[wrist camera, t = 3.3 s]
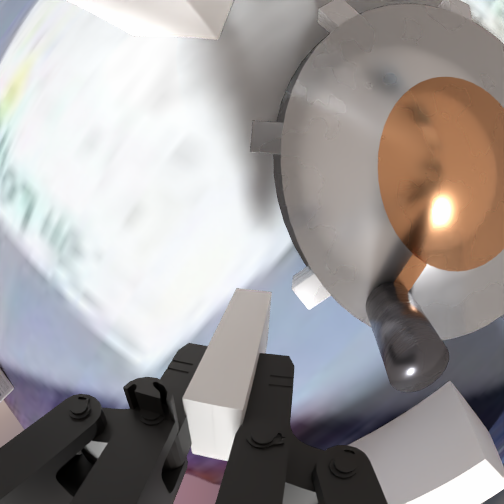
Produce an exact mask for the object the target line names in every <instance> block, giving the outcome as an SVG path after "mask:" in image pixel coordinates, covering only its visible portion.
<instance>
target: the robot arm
mask: <svg viewBox="0 0 504 504" xmlns="http://www.w3.org/2000/svg"><path fill="white" fill-rule="evenodd" d="M271 293H272V292H266V291H257V290H248V289H239V288H236V290H235V293H234V295H233V297H232V299H231V301H230V303H229V305H228V307H227V309H226V311H225V313H224V315H223V317H222V319H221V321H220V323H219V325H218V327H217V329H216V331H215V333H214V335H213V337H212V339H211V341H210V343H209V345H208V346H203V345H197V344H192V343H188V344H187V345H185V346H184V347H182V348H181V349H179V350H178V352H177V353H176V355H175V356H174V358H173V360H172V362H171V363H170V364H169V366H168V369H166V371H165V372H164V374H163V376H162V377H161V379H158V378H152V377H143V378H137V379H135V380H133V381H130V382H129V383H128V384H127V385H125V386H124V387H123V388H124V392H125V395H126V398H127V401H128V404H129V407H130V409H111V408H102V407H101V405H100V403H99V401H98V400H97V399H96V398H94V397H92V396H90V395H85V394H78V395H73V396H71V397H69V398H67V399H66V400H64V401H63V402H62V403H60V404H59V405H58V406H56V407H55V408H54V409H52V410H51V411H50V412H48V413H47V414H45V415H44V416H43V417H41V418H40V419H39V420H37V421H36V422H35V423H33V424H32V425H31V426H29V427H28V428H27V429H25V430H24V431H23V432H21V433H20V434H18V435H17V436H16V437H14V438H13V439H12V440H10V441H9V442H8V443H6V444H5V445H4V446H2V447H1V448H0V504H173V502H174V500H175V497H176V495H177V492H178V490H179V487H180V485H181V482H182V479H183V477H184V474H185V472H186V469H187V464H188V461H187V454H188V452H189V449H190V447H191V448H192V453H193V454H197V455H202V456H206V457H211V458H215V459H220V460H226V461H228V462H227V466H226V469H225V472H224V476H223V479H222V483H221V486H220V490H219V493H218V497H217V500H216V503H215V504H388V503H387V500H386V498H385V496H384V493H383V491H382V488H381V486H380V483H379V481H378V479H377V476H376V474H375V471H374V469H373V467H372V464H371V462H370V460H369V458H368V457H367V455H366V454H365V453H364V452H363V451H361V450H360V449H358V448H356V447H352V446H349V445H337V446H334V447H331V448H328V449H327V450H325V451H324V450H320V449H317V448H314V447H311V446H309V445H306V444H304V443H302V442H301V441H300V440H298V439H297V438H296V437H295V435H294V434H293V433H292V430H291V428H290V417H291V405H292V393H293V378H294V365H293V363H292V361H291V359H290V357H289V356H283V355H273V354H265V352H266V347H267V340H268V329H269V317H270V305H271Z"/></svg>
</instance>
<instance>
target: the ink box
mask: <svg viewBox="0 0 504 504" xmlns="http://www.w3.org/2000/svg"><path fill="white" fill-rule="evenodd" d="M13 389H14V387H13V386H12V384H11V383H10V381H9V380H8V379H7V377H6V376H5V374H4V373H3V371H2V370H1V368H0V402H1V401H2V400H3V399H4V398H5V397H6V396H7V395H8V394H9V393H10V392H11V391H12V390H13Z"/></svg>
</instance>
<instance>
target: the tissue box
mask: <svg viewBox="0 0 504 504" xmlns="http://www.w3.org/2000/svg"><path fill="white" fill-rule="evenodd" d="M349 446H352V447H356V448H358V449H360V450H361V451H363V452H364V453H365V454H366V455H367V457H368V458H369V460H370V462H371V464H372V467H373V469H374V471H375V474H376V476H377V479H378V481H379V483H380V486H381V488H382V491H383V493H384V496H385V498H386V500H387V503H388V504H481V503H482V502H484V501H486V500H487V499H489V498H490V497H492V496H494V495H495V494H497V493H498V492H500V491H501V490H503V489H504V467H503V465H502V462H501V460H500V457H499V455H498V452H497V450H496V447H495V445H494V443H493V440H492V438H491V436H490V434H489V432H488V430H487V429H486V427H485V426H484V424H483V423H482V422H481V420H480V419H479V418H478V416H477V415H476V414H475V412H474V411H473V409H472V408H471V407H470V405H469V404H468V403H467V401H466V400H465V399H464V398H463V396H462V395H461V394H460V392H459V391H458V390H457V389H456V387H455V386H454V385H453V383H452V382H451V381H448V382H447V383H446V384H445V385H443V386H442V387H441V388H439V389H438V390H437V391H435V392H434V393H433V394H431V395H430V396H428V397H427V398H426V399H424V400H423V401H421V402H420V403H418V404H417V405H415V406H414V407H413V408H411V409H409V410H408V411H406V412H405V413H403V414H402V415H400V416H399V417H397V418H395V419H394V420H392V421H390V422H389V423H387V424H385V425H384V426H382V427H380V428H379V429H377V430H375V431H373V432H372V433H370V434H368V435H366V436H364V437H362V438H360V439H359V440H357V441H355V442H353V443H351V444H349Z"/></svg>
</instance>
